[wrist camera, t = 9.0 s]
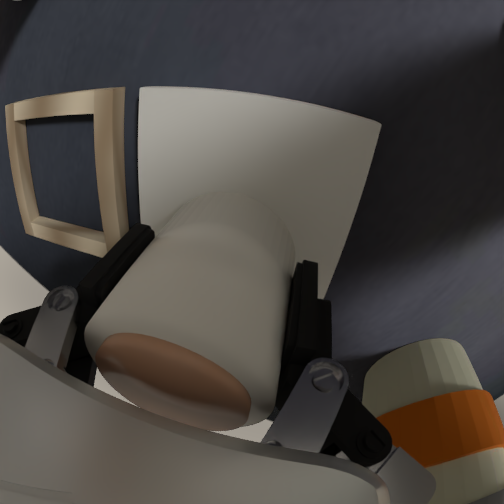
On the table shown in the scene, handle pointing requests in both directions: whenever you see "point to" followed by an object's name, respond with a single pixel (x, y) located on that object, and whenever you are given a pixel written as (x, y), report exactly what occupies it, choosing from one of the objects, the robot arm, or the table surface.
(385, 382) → the reusable coffee cup
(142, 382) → the cylinder with brown end
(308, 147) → the mat
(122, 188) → the wooden square frame
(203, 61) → the table surface
